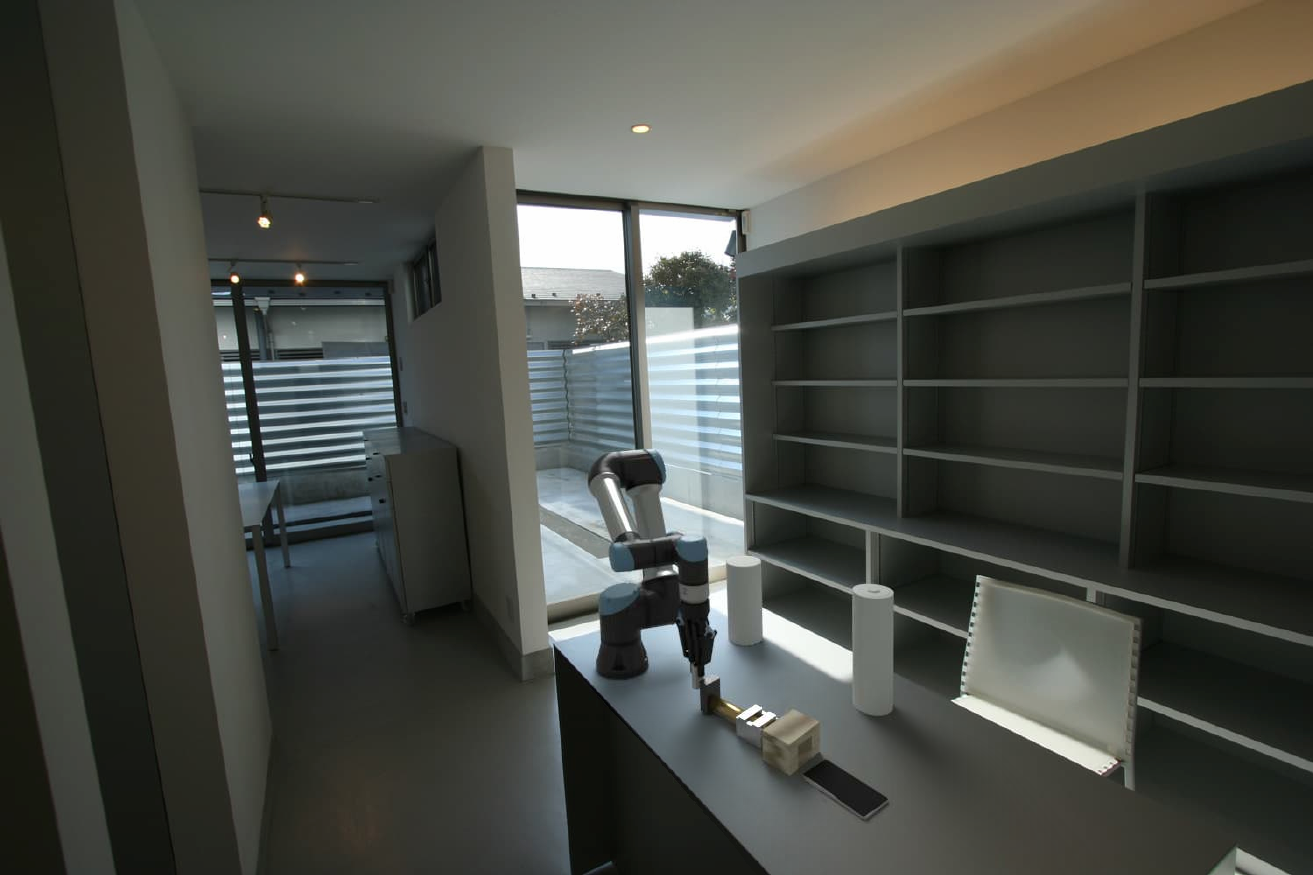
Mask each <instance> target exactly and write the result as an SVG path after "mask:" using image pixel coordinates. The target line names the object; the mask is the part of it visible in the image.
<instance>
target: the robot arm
mask: <svg viewBox="0 0 1313 875" xmlns="http://www.w3.org/2000/svg"><path fill="white" fill-rule="evenodd" d="M666 469H667V468H666V465H665V462H664V459H663V457H662V455H661V454H660V452H658V451H657V450H656V449H652V448H646V449H645V448H641V449H633V450H621V451H610V452H606V453H604V454H602V455H601V456H599V457H598V458H596V460H595V461H594V462H593V464H592V465H591V466H590V469H589V471H588V475H587V486H588V489H589V493H590V494H591V496H592V497H593V498H595V499H596V502H597V503H598V504H597V505H598V507H599V510H600V512H601V515H602V518H603V521H604V523H605V526H606V529H607V532H608V534H609V536H610V540H611V543H612V544H610V545H609V547H608V561H609V564H610V567H611V570H612V571H613V572H614V573H631V572H634V571H639V570H640V571H641V570H644V571H643V572H644V577H643V578H642V579H641V583H640V584H641V587H639V586H638V584H636V583H633V582H628V583H627V582H622V583H621V582H620V583H616V584H612V585H609V586H608V587H606V588H605V589H603V591H602V592H601V593H600V594H599V597H598V615H599V628H600V629H599V630H600V632H599V634H600V645H599V649H598V652H597V657H596V660H595V670H596V672H597V674H598V675H600V676H602V677H603V678H606V679H609V680H629V679H633V678H637V677H638V676H640V675H642V674H644V673H645V672H646V671H647V670H648V668H649V665H650V664H649V656H648V653H647V651H646V648H645V645H644V642H643V640H642V631H643V630H647V629H653V628H661V627H666V626H669V625H671V626H674V625H675V624H676V627H677V630H678V636H679V640H680V641H679V642H680V644H681V645H680V646H681V650H682V656H683V657H684V658H685V659H686V658H687V660H688V663H689V672H690V674H691V688H692V689H693V690H696V691H698V690H700V681H701V680H703V679H705V678H704V677H705V675H706V672H705V666H706V665H708V664H710V663H711V662H712V657H713V650H714V644H715V638H716V637H717V636H718V631H717V629H713V628H711V626H710V620H709V615H710V612H711V604H710V602H711V601H710V580H709V578H710V577H709V548H708V541H707V538H706V537H705V536H704V535H699V534H693V533H692V534H690V533H689V534H683V533H681V532H679V531H677V530H675V531H674V530H671V531H668V532H667V530H666V524H665V519H664V515H663V514H664V513H663V509H662V503H661V499H660V492H661V491H662V490H663V484H665V483H666V480H667V470H666ZM621 489H624V490H625V491H624V492H625V495H626V496H627V497H629V498H630V500H631V502H632V507H633V508H632V509H633V513H634V518H635V521H634V518H633V516H632V514H631V512H630V509H629V507H628V504H627V501H626V499H625V497H624V495H623V493H622V490H621ZM674 565H675V567H677V571H676V570H674Z"/></svg>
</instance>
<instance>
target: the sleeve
mask: <svg viewBox="0 0 1313 875" xmlns="http://www.w3.org/2000/svg"><path fill="white" fill-rule="evenodd" d="M753 716H756V717H758V718H759V719H757V720H756V721H754V722H753V723H752V722H750V721H748V720H749V719H750V718H752V717H753ZM778 719H779V717H777V715H776V714H775V713H772V712H771V711H768V712H766V711H764V710H763V707H762V706H759V705H757V704H753V706H752V707H751V706H750V707H749V708H748V709H747V710H745V712H743V713H742V714H740V715H739V716H738V717H736V724H735V725H736V737H737V738H740V739H742V740H743V741H745V742H747V743H748V744H750V745H751V746H754V747H755V748H757V749H758V750H760V751H762V750H763V733H762V730H763V728H762V727H763V726H765V725H766V724H769V725H771V724H772V723H773V722H775V721H776V720H778Z"/></svg>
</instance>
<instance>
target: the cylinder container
mask: <svg viewBox="0 0 1313 875" xmlns="http://www.w3.org/2000/svg"><path fill="white" fill-rule="evenodd" d="M851 590H852V591H851V592H852V593H851V594H852V599H851V600H852V601H851V602H852V603H851V604H852V606H851V607H852V616H851V617H852V620H851V621H852V622H851V623H852V626H851V627H852V632H851V633H852V635H851V636H852V705H853V706H854V708H855V709H856V710H857V711H859V712H861V713H862V714H866V715H869V716H873V717H874V716H877V717H878V716H879V717H880V716H886V715H888V714H891V712H892V711H893V709H894V601H895V600H894V599H895V598H894V591H893V590H892V589H891V588H890V587H887V586H885V585H881V584H876V583H862V584H860V583H859V584H856V585H854V586H853V587H852V588H851Z"/></svg>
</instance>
